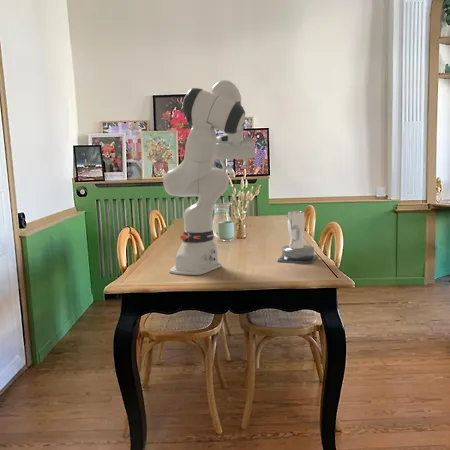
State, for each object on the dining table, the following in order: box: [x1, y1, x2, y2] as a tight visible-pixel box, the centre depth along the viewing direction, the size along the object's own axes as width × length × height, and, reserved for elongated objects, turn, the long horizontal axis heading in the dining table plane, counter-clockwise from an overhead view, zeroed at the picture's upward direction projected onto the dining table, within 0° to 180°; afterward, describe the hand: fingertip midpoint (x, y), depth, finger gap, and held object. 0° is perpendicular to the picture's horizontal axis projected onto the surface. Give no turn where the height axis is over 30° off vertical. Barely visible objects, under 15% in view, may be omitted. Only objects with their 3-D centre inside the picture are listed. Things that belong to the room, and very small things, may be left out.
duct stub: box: [277, 244, 319, 265], centre depth 201 cm, size 14×14×5 cm
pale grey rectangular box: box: [287, 210, 306, 249], centre depth 200 cm, size 7×7×15 cm
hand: (234, 169), depth 218 cm, fingers open, 8 cm apart
